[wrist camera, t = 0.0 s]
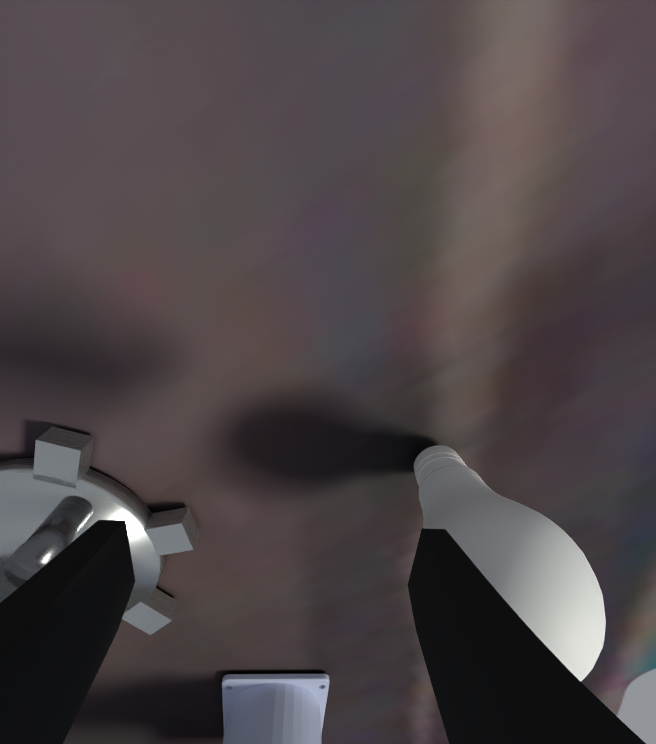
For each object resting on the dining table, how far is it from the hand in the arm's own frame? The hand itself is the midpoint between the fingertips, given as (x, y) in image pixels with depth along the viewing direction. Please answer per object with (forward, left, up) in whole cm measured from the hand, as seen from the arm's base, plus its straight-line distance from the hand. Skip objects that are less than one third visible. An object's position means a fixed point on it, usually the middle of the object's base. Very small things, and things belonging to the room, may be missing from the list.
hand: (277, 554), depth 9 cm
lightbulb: (-4, -8, -10) cm, 14 cm away
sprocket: (-11, +13, -10) cm, 20 cm away
